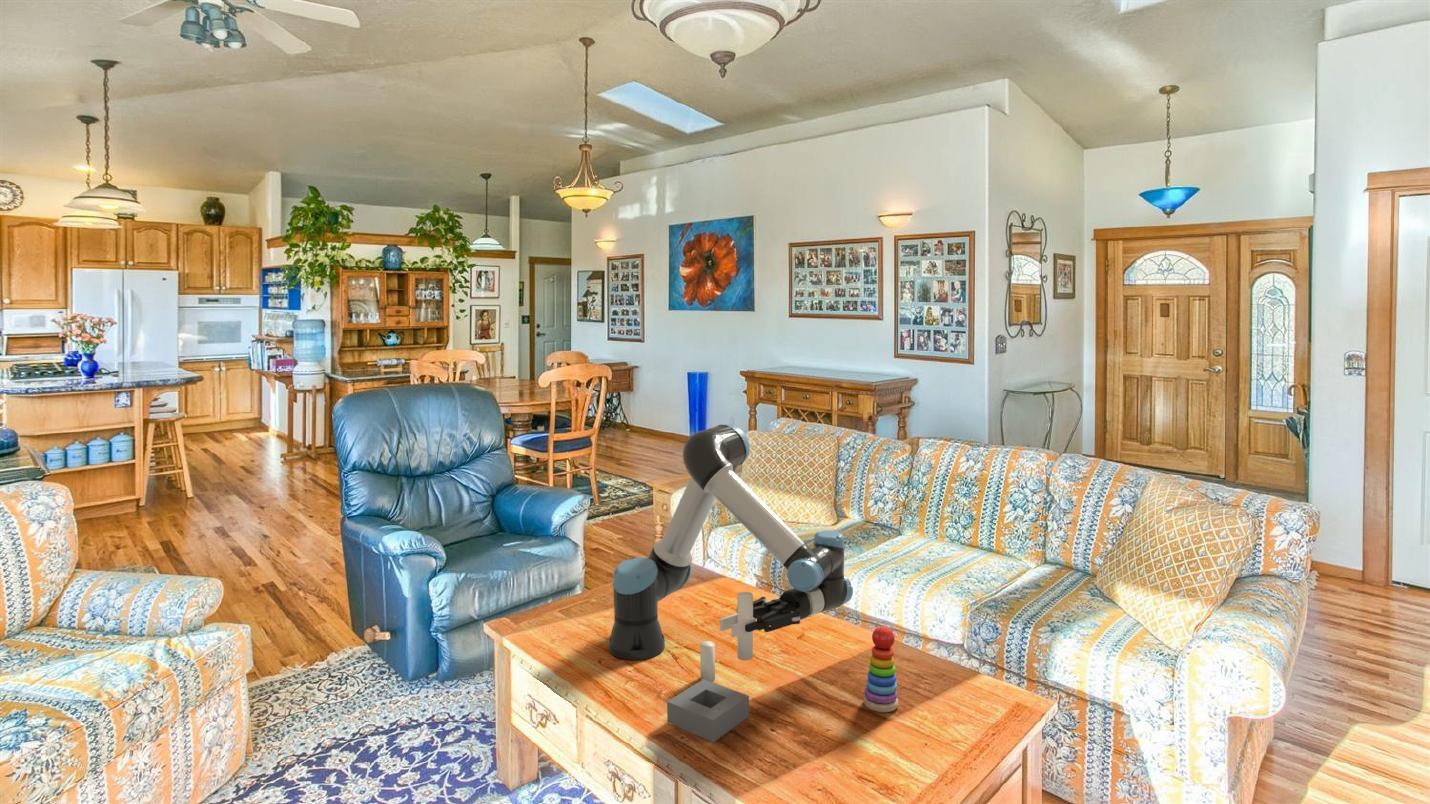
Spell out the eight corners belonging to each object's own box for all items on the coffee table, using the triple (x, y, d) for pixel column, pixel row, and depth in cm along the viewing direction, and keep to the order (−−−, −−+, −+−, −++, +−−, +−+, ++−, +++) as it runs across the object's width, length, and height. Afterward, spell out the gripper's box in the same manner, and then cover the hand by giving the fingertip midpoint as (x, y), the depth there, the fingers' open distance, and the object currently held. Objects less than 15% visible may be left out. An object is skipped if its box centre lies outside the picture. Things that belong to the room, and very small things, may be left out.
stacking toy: (899, 715, 177) (901, 636, 175) (863, 712, 179) (864, 634, 176) (898, 698, 185) (899, 622, 183) (863, 695, 187) (864, 619, 184)
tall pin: (734, 657, 182) (734, 595, 180) (743, 652, 184) (743, 590, 182) (747, 662, 179) (747, 599, 177) (755, 656, 182) (756, 594, 180)
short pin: (697, 679, 195) (697, 644, 194) (706, 673, 198) (706, 639, 197) (709, 683, 193) (708, 648, 192) (717, 678, 196) (717, 643, 194)
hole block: (667, 722, 175) (667, 701, 174) (703, 699, 185) (703, 679, 185) (713, 742, 167) (713, 720, 167) (748, 716, 177) (748, 695, 177)
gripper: (825, 628, 186) (750, 656, 171) (777, 607, 199) (704, 631, 184) (826, 598, 185) (750, 624, 170) (777, 578, 198) (704, 601, 183)
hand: (726, 628), depth 177 cm, fingers closed on tall pin, 3 cm apart
